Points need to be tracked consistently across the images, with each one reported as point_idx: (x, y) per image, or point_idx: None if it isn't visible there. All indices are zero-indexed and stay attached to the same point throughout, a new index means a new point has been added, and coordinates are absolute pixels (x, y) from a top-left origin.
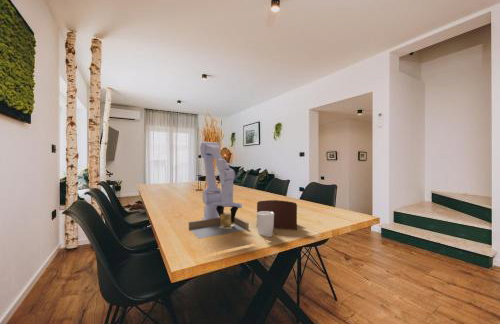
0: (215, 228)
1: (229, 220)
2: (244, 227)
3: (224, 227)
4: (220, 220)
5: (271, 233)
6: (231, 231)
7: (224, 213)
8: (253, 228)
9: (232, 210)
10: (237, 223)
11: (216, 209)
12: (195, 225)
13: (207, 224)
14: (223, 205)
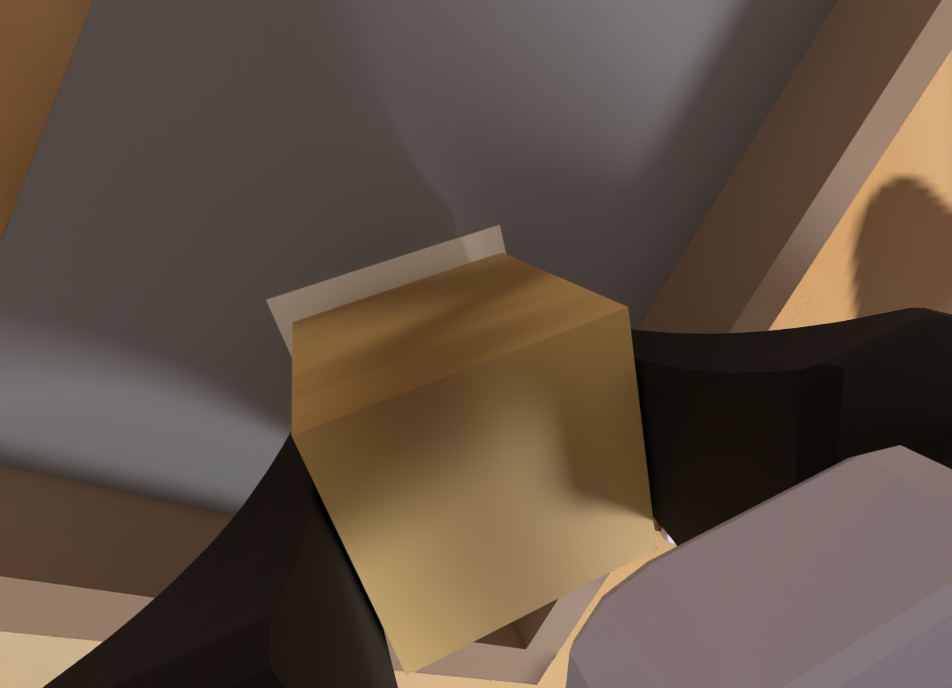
0: (532, 156)
1: (313, 357)
2: (16, 485)
3: None
4: (541, 270)
5: None
6: (120, 164)
7: (592, 478)
8: None
9: (162, 648)
10: None
11: (908, 312)
12: (868, 5)
13: (729, 209)
14: (880, 493)
